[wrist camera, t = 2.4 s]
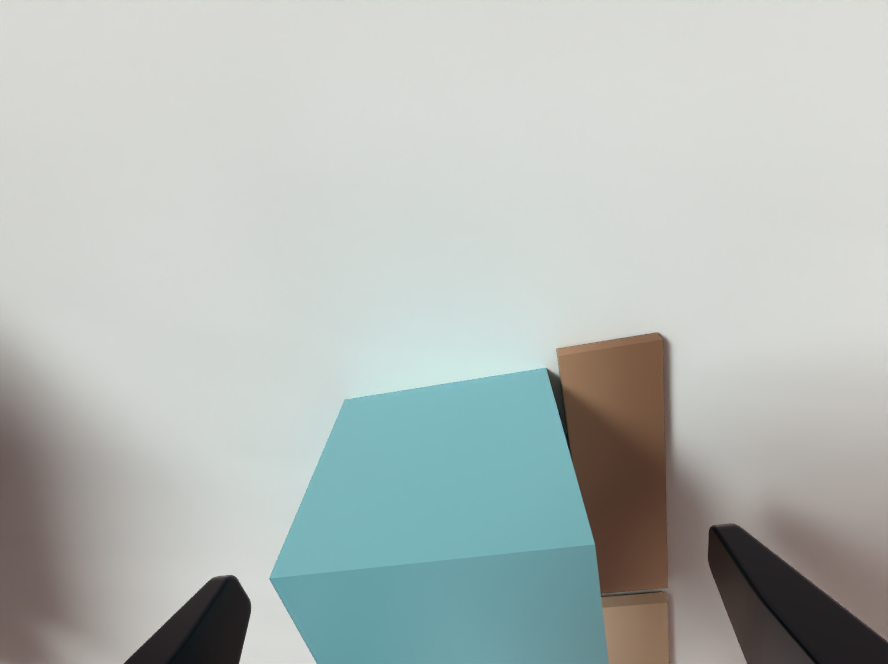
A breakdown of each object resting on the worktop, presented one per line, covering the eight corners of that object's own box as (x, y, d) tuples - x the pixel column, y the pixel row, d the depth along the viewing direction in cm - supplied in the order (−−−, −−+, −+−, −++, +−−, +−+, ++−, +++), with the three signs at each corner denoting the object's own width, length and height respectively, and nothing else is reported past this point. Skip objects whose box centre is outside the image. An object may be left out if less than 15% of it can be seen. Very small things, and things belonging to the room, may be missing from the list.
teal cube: (397, 536, 13) (361, 743, 9) (345, 397, 11) (269, 578, 7) (567, 516, 12) (616, 729, 8) (545, 365, 10) (594, 544, 6)
